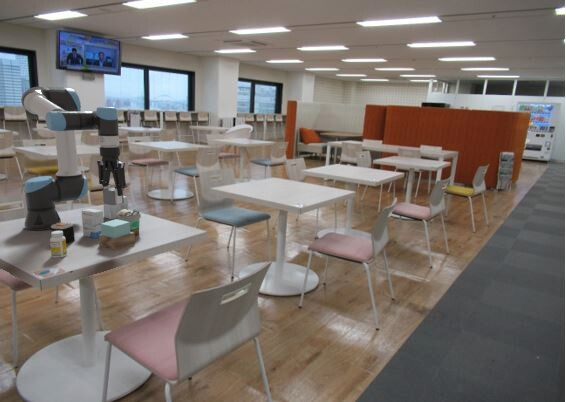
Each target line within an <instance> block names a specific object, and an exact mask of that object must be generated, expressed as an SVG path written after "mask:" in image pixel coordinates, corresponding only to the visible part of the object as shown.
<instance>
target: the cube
mask: <svg viewBox="0 0 566 402" xmlns="http://www.w3.org/2000/svg"><path fill="white" fill-rule="evenodd" d="M115 187H116V186H115ZM115 187H112V186H111V188H107V189H104V188H103V189H102V201H103V202H104V204H108V205H117V204H116V201H115ZM123 196H124V188H122V203H124V198H123ZM103 202H102V203H103ZM120 204H121V203H120Z"/></svg>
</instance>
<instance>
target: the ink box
mask: <svg viewBox="0 0 566 402" xmlns="http://www.w3.org/2000/svg"><path fill="white" fill-rule="evenodd" d="M81 220H82V221H81V223H82V234H83V236H84V237H87V238H88V237H89V238H93V239H94V238H95V239H99V235H100V234H101V223H105V222H104V210H100V209H95V208H87V209H83V210H81Z"/></svg>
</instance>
